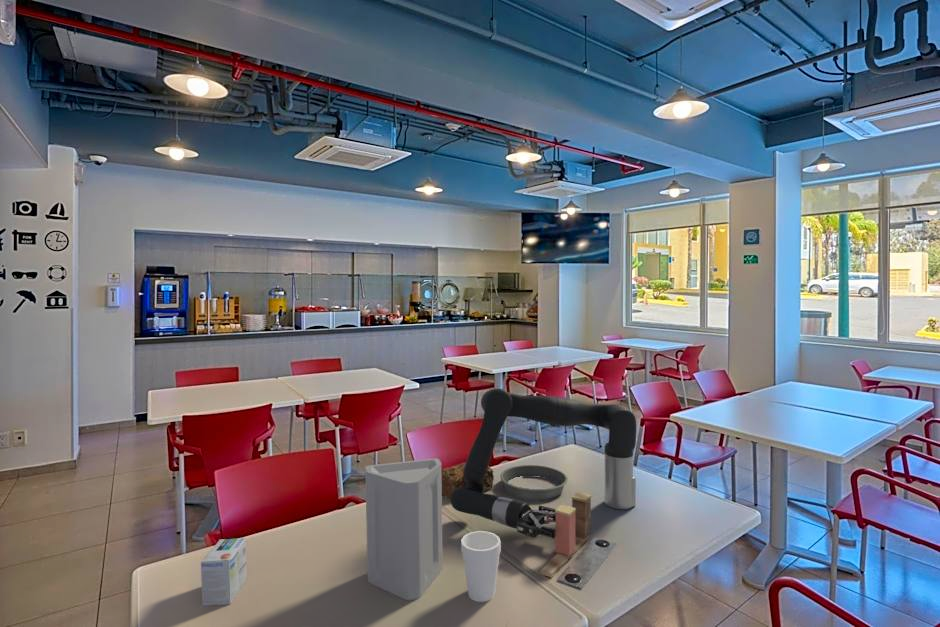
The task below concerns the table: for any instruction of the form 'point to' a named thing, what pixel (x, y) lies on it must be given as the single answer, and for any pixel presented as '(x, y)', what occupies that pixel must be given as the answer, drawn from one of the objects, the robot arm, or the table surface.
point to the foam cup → (481, 563)
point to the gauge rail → (562, 557)
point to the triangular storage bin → (404, 526)
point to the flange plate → (587, 562)
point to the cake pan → (533, 471)
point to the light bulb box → (223, 572)
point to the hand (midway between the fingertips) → (562, 527)
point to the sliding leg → (565, 530)
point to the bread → (461, 479)
